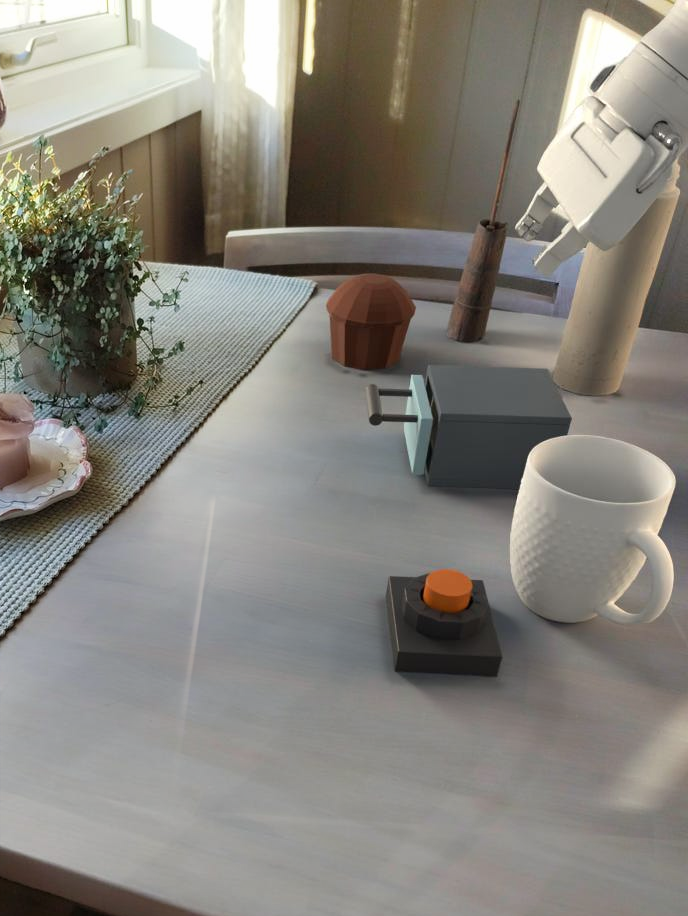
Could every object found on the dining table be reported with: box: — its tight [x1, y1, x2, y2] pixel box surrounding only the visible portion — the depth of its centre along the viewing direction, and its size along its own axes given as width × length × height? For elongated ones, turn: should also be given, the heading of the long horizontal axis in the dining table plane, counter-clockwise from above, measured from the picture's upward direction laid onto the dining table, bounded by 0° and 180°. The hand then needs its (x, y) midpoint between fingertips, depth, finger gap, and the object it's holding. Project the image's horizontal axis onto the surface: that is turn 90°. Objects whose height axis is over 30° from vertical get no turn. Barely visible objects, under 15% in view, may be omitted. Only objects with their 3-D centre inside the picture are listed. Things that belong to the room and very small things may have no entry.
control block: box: [385, 572, 503, 678], centre depth 73 cm, size 8×10×4 cm
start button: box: [423, 568, 473, 613], centre depth 72 cm, size 4×4×2 cm
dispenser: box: [424, 364, 573, 490], centre depth 94 cm, size 13×12×8 cm
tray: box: [364, 374, 439, 476], centre depth 94 cm, size 16×10×6 cm, turn 85°
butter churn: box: [445, 99, 521, 343], centre depth 113 cm, size 9×10×28 cm
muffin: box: [325, 272, 417, 371], centre depth 115 cm, size 12×11×10 cm
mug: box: [509, 434, 676, 627], centre depth 72 cm, size 15×11×13 cm
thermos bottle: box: [552, 161, 681, 397], centre depth 103 cm, size 8×8×28 cm
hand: (529, 252), depth 84 cm, fingers open, 8 cm apart
